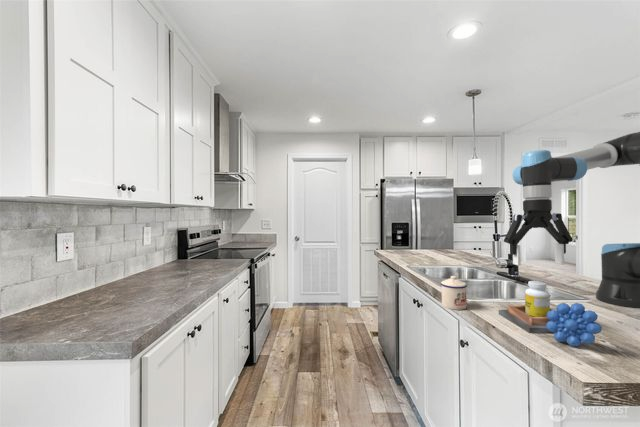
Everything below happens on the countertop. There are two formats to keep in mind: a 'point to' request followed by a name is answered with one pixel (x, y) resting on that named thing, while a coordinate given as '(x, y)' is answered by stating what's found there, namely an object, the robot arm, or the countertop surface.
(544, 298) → the pill bottle
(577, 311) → the blue bumpy cluster
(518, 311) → the socket board
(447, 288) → the teacup with lid
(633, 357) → the countertop surface
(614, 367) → the countertop surface
